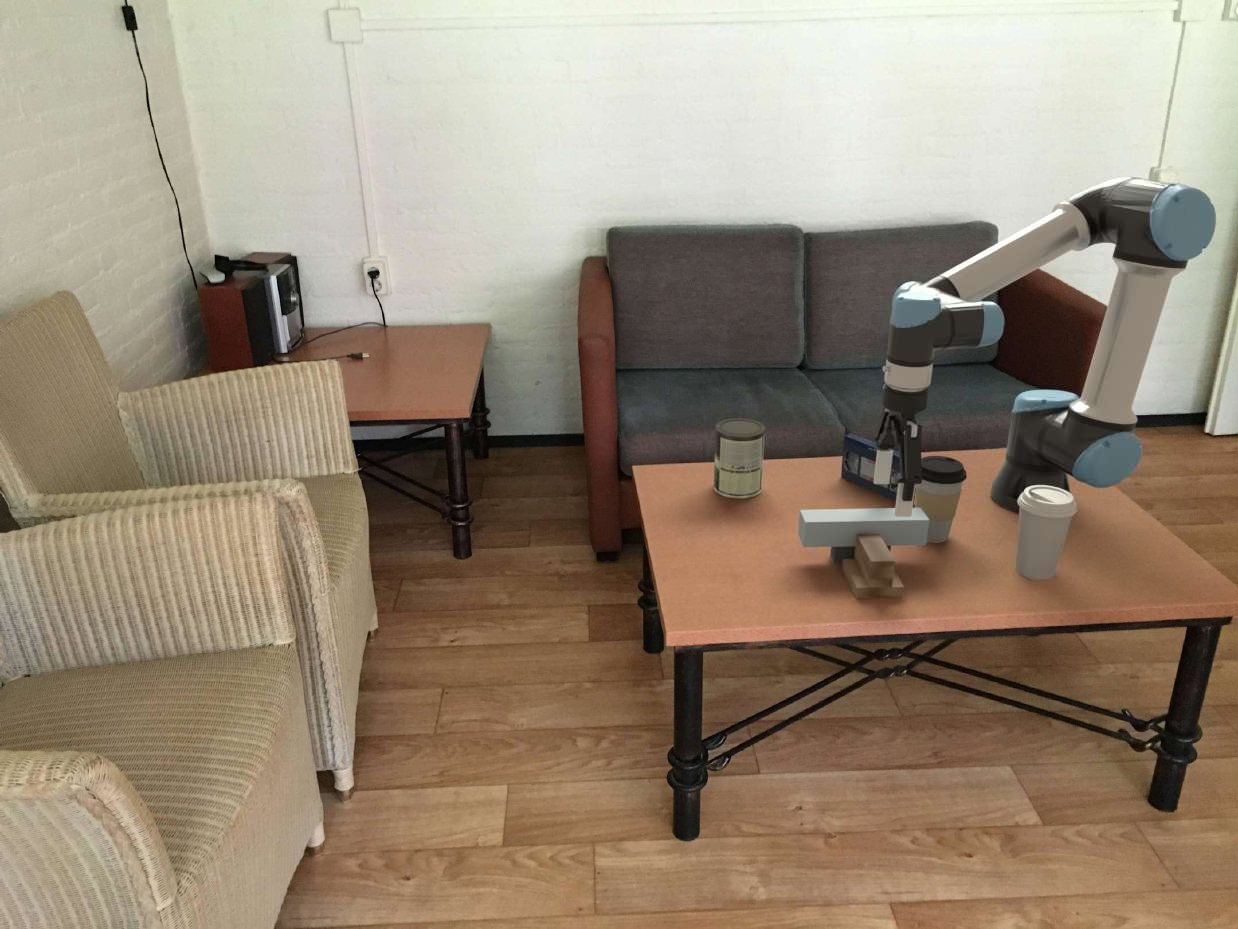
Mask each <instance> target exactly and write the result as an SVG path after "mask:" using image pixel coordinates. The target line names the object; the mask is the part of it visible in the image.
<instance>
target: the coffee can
mask: <svg viewBox="0 0 1238 929" xmlns="http://www.w3.org/2000/svg"><path fill="white" fill-rule="evenodd" d="M714 426H715V427H714V431H715V437H714V438H715V439H714V440H715V445H714V470H713V471H714V472H713V473H714V475H713V478H714V479H713V491H714V492H715V493H716V494H718V495H720V496H722V497H725V498H729V499H736V500H737V499H744V500H745V499H749V498H754V497H757V496H758V495H760V494H761V493H762V490H763V488H762V487H763V486H762V485H763V481H762V480H763V468H764V467H763V464H764V449H765V448H764V447H765V433H766V426H765V425H764V423H762V422H760V421H757V420H754V419H750V418H741V417H740V418H738V417H735V418H728V419H724V420H720V421H718V422H717V423H715V425H714Z"/></svg>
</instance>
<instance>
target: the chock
mask: <svg viewBox="0 0 1238 929" xmlns="http://www.w3.org/2000/svg"><path fill="white" fill-rule="evenodd" d="M891 547H892V546H887V548H888V549H889V551H890V552H891ZM829 556H830V558H831V560H832V563H833V564H839V565H840V564H841V565H842V564H843V559H854V556H855V546H847V547H830V553H829Z"/></svg>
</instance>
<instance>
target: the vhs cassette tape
mask: <svg viewBox="0 0 1238 929" xmlns="http://www.w3.org/2000/svg"><path fill="white" fill-rule="evenodd" d="M877 450H879V448H877V442H876V441H875V442H874V441H872V440H870V439H867V438H864V437H862V436H859V435H857V434H854V433H848V434H845V435H844V436H843V447H842V458H841V459H842V461H841V474H840V477H841V478H842V479H843V480H846V481H848V482H850V483H852V484H854V485H857V486H858V487H860V488H863V489H866V490H867V491H870V492H872V493H874V494H876V495H878V496H881V497H883V498H885V499H888V500H890V501H893V502H895V503H896V498H897V491H898V483H897V480H898V479H901V471H900V461H899V451H898V450H896V449H894V448H889V450H893V457H892V465H891V473H890V481H889V484H874V483H873V482H874V473H875V465H876V457H877ZM915 496H916V486H915V493H914V501H913V505H914V504H915Z"/></svg>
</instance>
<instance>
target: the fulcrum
mask: <svg viewBox="0 0 1238 929" xmlns="http://www.w3.org/2000/svg"><path fill="white" fill-rule="evenodd" d="M841 565H842V567H841V569H842V572H843V574H844V576H845V578H846V580H847V582H848V585H849V587H850V588H851V591H852V593H853V596H854V597H855V599H868V598H869V599H871V598H872V599H873V598H875V599H876V598H877V599H878V598H903V597H904V591H905V590H904V589H905V586H904V584H903V583H902V581H901V579H900V577H899V575H898V574H897V573H896V570H895V566H896V560H895V558H894V557H893V555H892V553H891V550H890V551H889V549H888V548H887V546H886V544H885V543H884V541H883V539H882V538H881V536H880V534H857V535H856V546H855V556H854V559H843V563H842V564H841Z"/></svg>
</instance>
